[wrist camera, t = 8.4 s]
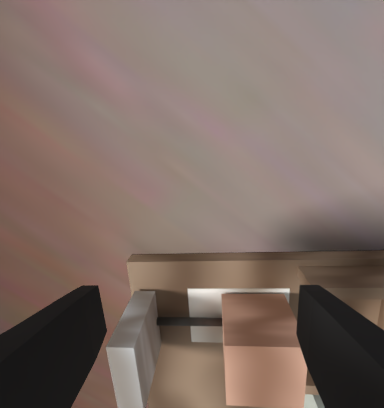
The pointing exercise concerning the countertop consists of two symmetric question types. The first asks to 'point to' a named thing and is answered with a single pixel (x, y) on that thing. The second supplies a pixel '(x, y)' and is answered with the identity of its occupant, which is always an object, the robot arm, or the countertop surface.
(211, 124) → the countertop surface
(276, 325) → the tethered block
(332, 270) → the lane rack
